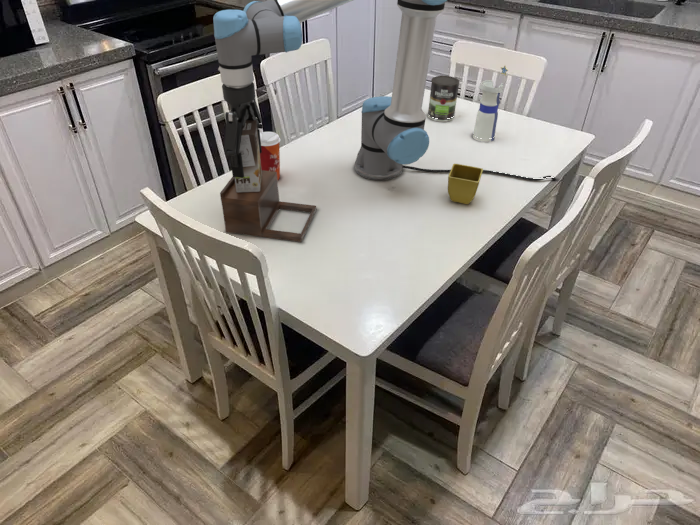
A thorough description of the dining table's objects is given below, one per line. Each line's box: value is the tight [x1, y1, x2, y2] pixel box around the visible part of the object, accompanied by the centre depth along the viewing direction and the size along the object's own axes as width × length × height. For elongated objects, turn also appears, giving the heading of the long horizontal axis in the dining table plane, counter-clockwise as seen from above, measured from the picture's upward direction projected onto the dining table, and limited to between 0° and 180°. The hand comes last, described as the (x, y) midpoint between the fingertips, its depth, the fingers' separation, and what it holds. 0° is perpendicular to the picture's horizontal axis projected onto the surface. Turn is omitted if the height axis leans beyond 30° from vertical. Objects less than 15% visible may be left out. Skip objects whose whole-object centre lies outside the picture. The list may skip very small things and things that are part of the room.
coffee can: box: [427, 75, 460, 123], centre depth 202 cm, size 10×10×14 cm
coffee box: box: [235, 120, 262, 193], centre depth 138 cm, size 9×6×16 cm
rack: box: [219, 170, 317, 243], centre depth 145 cm, size 21×16×12 cm
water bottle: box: [472, 65, 509, 143], centre depth 185 cm, size 8×9×25 cm
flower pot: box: [447, 163, 484, 205], centre depth 156 cm, size 9×9×9 cm
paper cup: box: [260, 131, 281, 181], centre depth 163 cm, size 8×8×14 cm
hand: (247, 164), depth 139 cm, fingers open, 13 cm apart
